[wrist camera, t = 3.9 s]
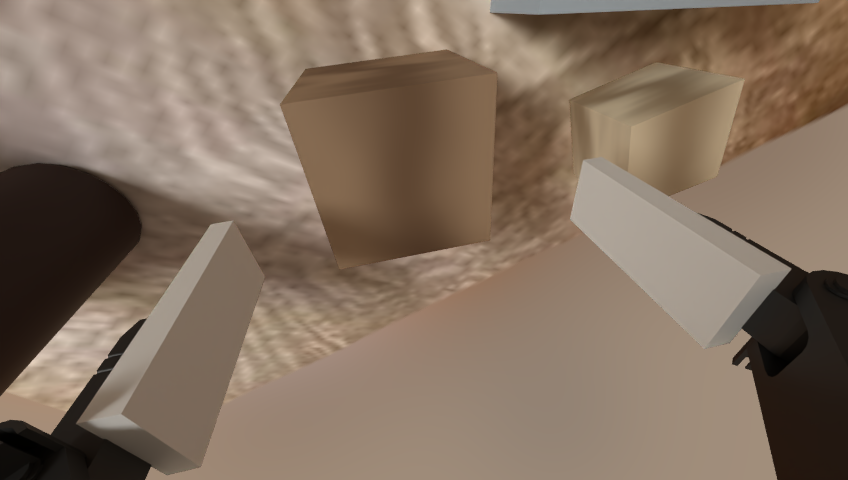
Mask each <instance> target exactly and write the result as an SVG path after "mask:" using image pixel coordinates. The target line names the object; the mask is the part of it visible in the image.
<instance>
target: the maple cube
mask: <svg viewBox="0 0 848 480" xmlns="http://www.w3.org/2000/svg"><path fill="white" fill-rule="evenodd" d="M744 80H745V79H743V78H738V77H733V76H727V75H722V74H717V73H711V72H706V71H701V70H695V69H690V68H684V67H679V66H674V65H668V64H663V63H658V62H655V63H653V64H651V65H648V66H646V67H644V68H641V69H639V70H637V71H635V72H632V73H630V74H628V75H625V76H623V77H621V78H618V79H616V80H614V81H612V82H609V83H607V84H605V85H602V86H600V87H598V88H595V89H593V90H591V91H589V92H586V93H584V94H582V95H579V96H577V97H575V98H572V99H570V100H569V102H570V119H571V137H572V155H573V173H574V175H575V176H576V177H578V178H579V177H580V172H581V168H582V163H583V160H586V159H592V158H598V157H603V158H604V159H606V160H608V161H610V162H611V163H613V164H615V165H616V166H618V167H620V168H621V169H623V170H625V171H627V172H628V173H630V174H632V175H633V176H635V177H637V178H638V179H640V180H642V181H644V182H645V183H647V184H649V185H650V186H652V187H654V188H655V189H657V190H659V191H661V192H662V193H664V194H666V195H667V196H670V195H673V194H675V193H678V192H680V191H683V190H685V189H688V188H690V187H693V186H695V185H698V184H700V183H702V182H705V181H708V180H710V179H713V178H715V177H717V175H718V172H719V168H720V165H721V161H722V158H723V154H724V151H725V147H726V144H727V140H728V137H729V133H730V130H731V126H732V123H733V119H734V115H735V112H736V108H737V105H738V101H739V98H740V94H741V91H742V87H743V84H744Z"/></svg>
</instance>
